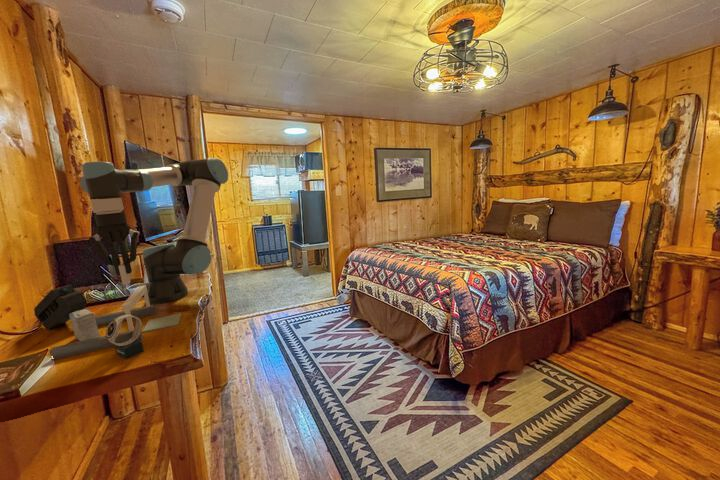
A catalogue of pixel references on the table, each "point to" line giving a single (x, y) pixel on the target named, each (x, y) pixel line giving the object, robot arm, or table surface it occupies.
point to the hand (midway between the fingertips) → (126, 283)
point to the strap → (133, 300)
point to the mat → (162, 322)
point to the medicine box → (84, 325)
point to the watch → (127, 346)
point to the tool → (59, 306)
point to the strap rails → (103, 341)
